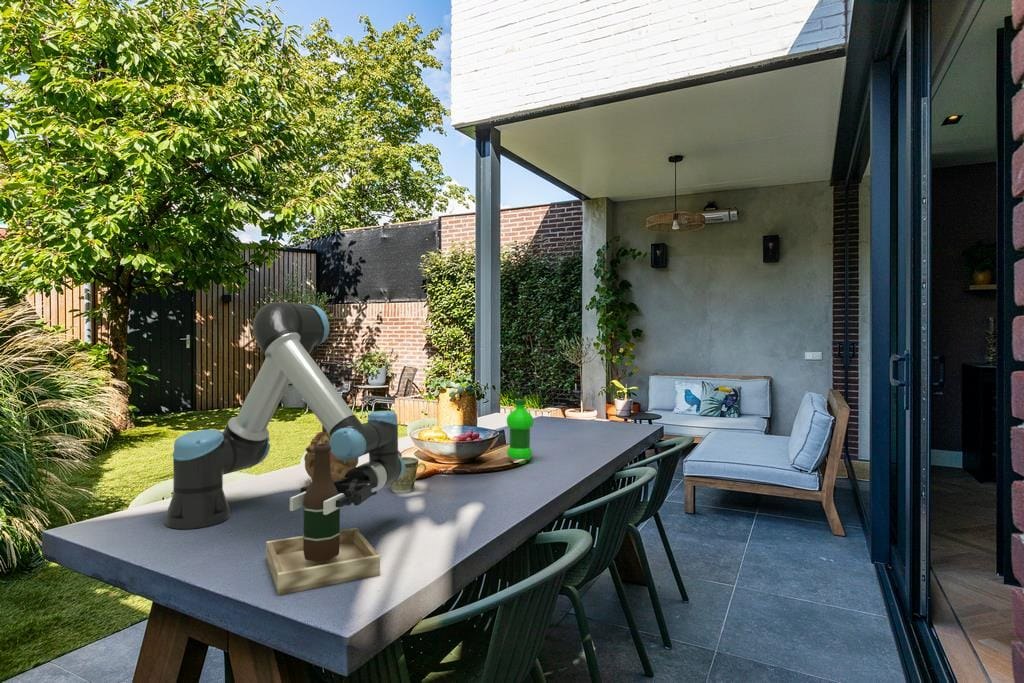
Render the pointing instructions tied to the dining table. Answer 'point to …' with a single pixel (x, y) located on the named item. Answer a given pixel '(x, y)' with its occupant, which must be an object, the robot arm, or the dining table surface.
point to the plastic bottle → (520, 432)
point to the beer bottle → (320, 511)
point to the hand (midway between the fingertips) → (308, 506)
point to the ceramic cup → (407, 476)
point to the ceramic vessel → (336, 465)
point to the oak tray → (320, 563)
